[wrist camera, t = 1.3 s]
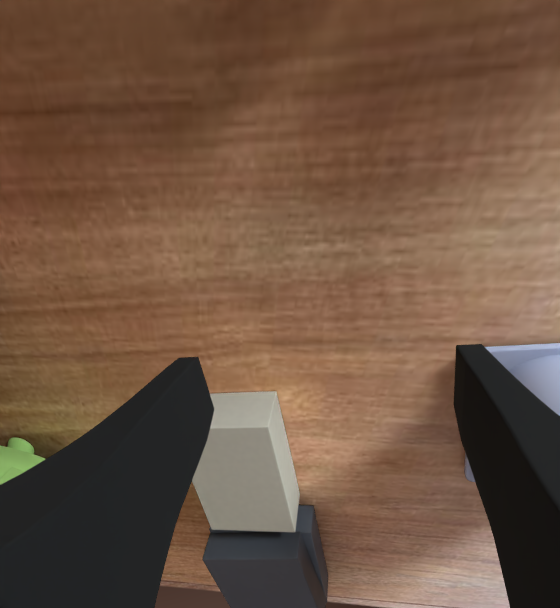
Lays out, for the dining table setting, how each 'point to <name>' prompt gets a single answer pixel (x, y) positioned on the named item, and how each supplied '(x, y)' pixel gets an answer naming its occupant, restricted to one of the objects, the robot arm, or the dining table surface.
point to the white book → (247, 466)
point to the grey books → (270, 565)
